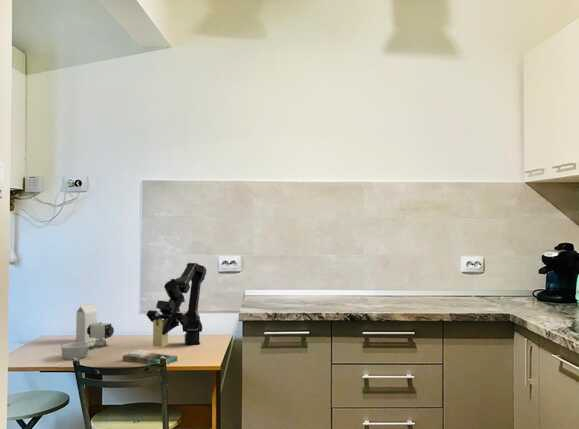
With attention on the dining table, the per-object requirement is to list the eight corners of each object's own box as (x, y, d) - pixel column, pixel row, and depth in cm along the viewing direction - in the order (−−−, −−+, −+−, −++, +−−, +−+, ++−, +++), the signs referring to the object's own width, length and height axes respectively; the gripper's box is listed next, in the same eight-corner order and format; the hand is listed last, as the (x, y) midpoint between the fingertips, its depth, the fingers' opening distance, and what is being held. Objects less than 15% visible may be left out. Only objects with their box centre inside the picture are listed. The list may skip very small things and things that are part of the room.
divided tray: (177, 360, 211) (177, 353, 211) (164, 366, 202) (164, 358, 202) (136, 355, 219) (136, 348, 219) (122, 360, 211) (122, 353, 211)
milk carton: (97, 340, 248) (97, 303, 248) (84, 343, 242) (85, 305, 242) (88, 339, 251) (88, 302, 252) (75, 341, 245) (76, 304, 246)
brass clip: (159, 343, 212) (159, 318, 212) (167, 344, 210) (168, 319, 210) (153, 346, 208) (153, 320, 208) (161, 347, 206) (161, 321, 206)
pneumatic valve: (108, 348, 231) (108, 323, 232) (86, 347, 234) (86, 322, 234) (114, 345, 237) (115, 321, 237) (93, 344, 239) (93, 320, 239)
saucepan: (102, 360, 211) (102, 347, 211) (56, 361, 210) (56, 348, 211) (111, 353, 222) (111, 341, 223) (67, 354, 222) (67, 341, 222)
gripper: (149, 292, 216) (132, 321, 206) (184, 294, 210) (168, 324, 199) (159, 307, 224) (144, 336, 213) (194, 309, 217) (179, 339, 206)
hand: (158, 334), depth 208 cm, fingers closed on brass clip, 4 cm apart
